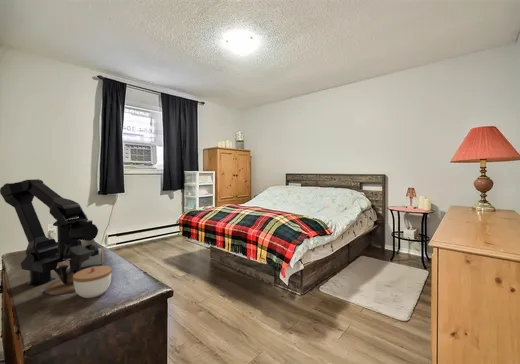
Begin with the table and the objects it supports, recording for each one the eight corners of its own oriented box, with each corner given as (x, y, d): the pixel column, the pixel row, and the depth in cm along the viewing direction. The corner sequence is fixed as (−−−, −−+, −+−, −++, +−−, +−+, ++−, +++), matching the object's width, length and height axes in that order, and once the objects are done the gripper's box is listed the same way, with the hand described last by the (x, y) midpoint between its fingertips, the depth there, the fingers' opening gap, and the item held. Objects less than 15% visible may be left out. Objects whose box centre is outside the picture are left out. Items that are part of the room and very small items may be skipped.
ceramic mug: (103, 266, 105) (103, 249, 105) (80, 270, 101) (79, 252, 100) (104, 259, 114) (103, 243, 114) (82, 262, 110) (82, 246, 110)
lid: (35, 291, 82) (35, 277, 82) (75, 275, 95) (75, 263, 94) (62, 297, 78) (61, 283, 78) (100, 280, 90) (99, 268, 90)
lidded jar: (105, 284, 89) (105, 258, 88) (117, 293, 82) (116, 266, 82) (69, 295, 81) (68, 267, 80) (78, 307, 74) (78, 276, 73)
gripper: (53, 248, 74) (55, 298, 75) (109, 234, 92) (109, 274, 93) (30, 245, 78) (32, 292, 78) (88, 231, 96) (88, 270, 96)
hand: (69, 281), depth 86 cm, fingers closed on lid, 3 cm apart
